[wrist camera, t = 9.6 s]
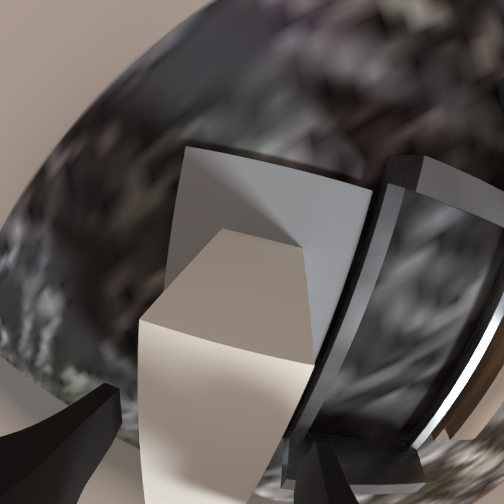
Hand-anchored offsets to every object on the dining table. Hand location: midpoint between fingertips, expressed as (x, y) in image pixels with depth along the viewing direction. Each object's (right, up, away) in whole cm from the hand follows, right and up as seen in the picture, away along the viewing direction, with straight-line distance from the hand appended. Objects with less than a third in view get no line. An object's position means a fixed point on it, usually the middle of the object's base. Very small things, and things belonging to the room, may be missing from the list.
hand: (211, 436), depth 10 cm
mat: (+1, +2, +6) cm, 6 cm away
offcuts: (+17, 0, +5) cm, 17 cm away
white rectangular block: (+1, +2, +5) cm, 6 cm away
